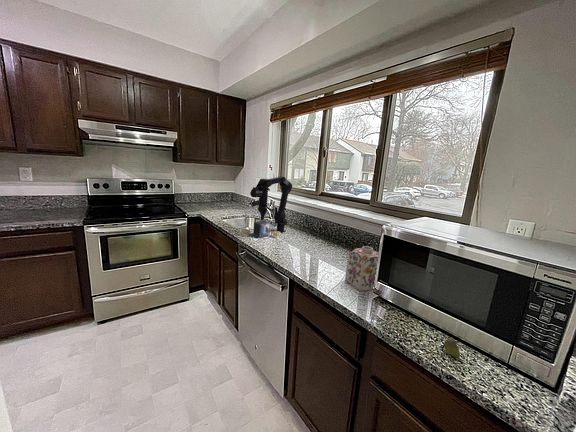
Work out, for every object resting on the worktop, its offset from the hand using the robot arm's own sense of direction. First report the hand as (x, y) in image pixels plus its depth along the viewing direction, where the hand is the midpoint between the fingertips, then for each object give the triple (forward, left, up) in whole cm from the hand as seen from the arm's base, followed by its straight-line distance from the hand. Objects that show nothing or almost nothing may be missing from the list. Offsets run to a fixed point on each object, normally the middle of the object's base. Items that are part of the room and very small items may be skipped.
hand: (262, 218), depth 175 cm
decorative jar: (+28, +81, -13) cm, 86 cm away
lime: (+57, +115, -13) cm, 129 cm away
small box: (0, 0, -13) cm, 13 cm away
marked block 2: (-7, +9, -13) cm, 17 cm away
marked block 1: (+7, -9, -13) cm, 17 cm away
